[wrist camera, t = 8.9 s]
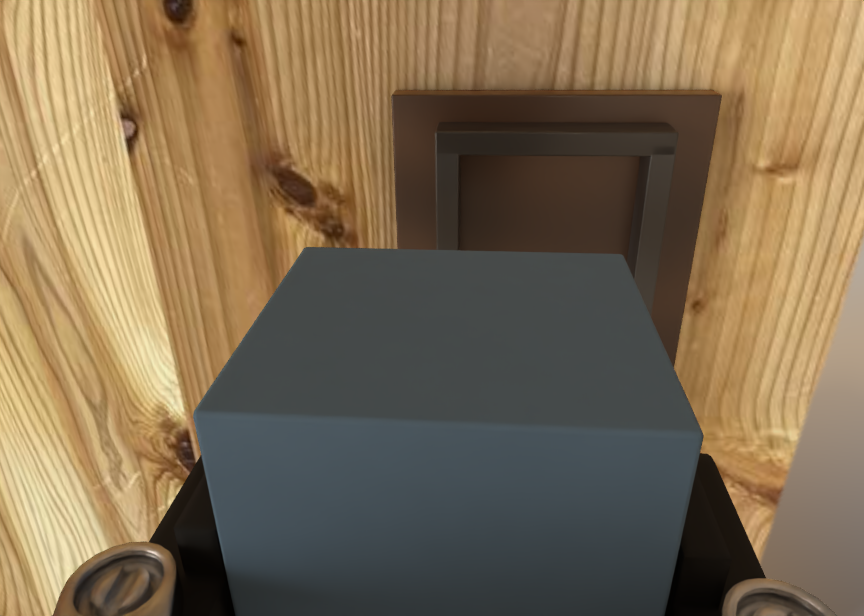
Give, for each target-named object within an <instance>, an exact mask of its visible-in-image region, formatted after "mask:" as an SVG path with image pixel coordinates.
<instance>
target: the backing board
mask: <svg viewBox="0 0 864 616" xmlns="http://www.w3.org/2000/svg"><path fill="white" fill-rule="evenodd" d="M391 98H392V122H393V147H394V171H395V196H396V221H397V245H398V249H415V250H460V251H506V252H551V253H596V254H621V255H623V256H624V258H625V260H626V263H627V265H628V267H629V269H630V272H631V274H632V276H633V278H634V281H635V283H636V285H637V287H638V290H639V292H640V294H641V296H642V298H643V301H644V303H645V305H646V307H647V310H648V312H649V314H650V316H651V319H652V321H653V323H654V325H655V328H656V330H657V332H658V334H659V336H660V339H661V341H662V343H663V345H664V348H665V350H666V352H667V354H668V357H669V359H670V361H671V363H672V366H673V368H674V363H675V358H676V352H677V346H678V341H679V335H680V329H681V324H682V318H683V312H684V307H685V301H686V296H687V290H688V284H689V279H690V273H691V267H692V262H693V256H694V250H695V245H696V239H697V233H698V228H699V222H700V216H701V211H702V205H703V200H704V194H705V188H706V183H707V177H708V171H709V166H710V160H711V154H712V149H713V143H714V137H715V132H716V126H717V121H718V115H719V109H720V104H721V98H722V95H721V94H719V93H717V92H715V91H714V90H396V91H395V92H394V93H393V94H392V96H391Z"/></svg>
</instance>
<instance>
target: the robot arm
mask: <svg viewBox="0 0 864 616" xmlns="http://www.w3.org/2000/svg"><path fill="white" fill-rule="evenodd" d="M53 616H235V612H234V607H233V603H232V598H231V593H230V588H229V584H228V579H227V574H226V569H225V565H224V560H223V555H222V550H221V546H220V541H219V536H218V531H217V527H216V522H215V517H214V513H213V508H212V503H211V498H210V494H209V489H208V484H207V479H206V475H205V470H204V465H203V460H202V456H200V458H199V459H198V461H197V463H196V464H195V466H194V468H193V469H192V471H191V473H190V474H189V476H188V478H187V479H186V481H185V483H184V484H183V486H182V488H181V489H180V491H179V493H178V494H177V496H176V498H175V499H174V501H173V503H172V504H171V506H170V508H169V509H168V511H167V513H166V514H165V516H164V518H163V519H162V521H161V523H160V524H159V526H158V528H157V529H156V531H155V533H154V534H153V536H152V538H151V539H150V541H149V542H129V543H126V544H122V545H118V546H114V547H111V548H109V549H107V550H105V551H103V552H101V553H98V554H96V555H95V556H93V557H92V558H90V559H89V560H88V561H86V562H85V563H83V564H82V565H81V566H80V567H79V568H78V569H77V570H76V571H75V572H74V573H73V574H72V575H71V576H70V577H69V579H68V580H67V582H66V584H65V586H64V588H63V590H62V592H61V594H60V597H59V600H58V602H57V605H56V608H55V611H54V614H53ZM665 616H837V615H836V614H835V613H834V612H833V611H832V610H831V609H830V608H829V607H828V606H827V605H825V604H824V603H823V602H822V601H821V600H819V599H818V598H817V597H815V596H813V595H812V594H810V593H808V592H806V591H805V590H803V589H801V588H799V587H797V586H794V585H791V584H789V583H786V582H783V581H779V580H773V579H766V577H765V575H764V573H763V570H762V568H761V566H760V563H759V561H758V559H757V557H756V554H755V552H754V550H753V548H752V545H751V543H750V541H749V539H748V536H747V534H746V532H745V530H744V527H743V525H742V523H741V521H740V518H739V516H738V514H737V512H736V509H735V507H734V505H733V503H732V500H731V498H730V496H729V494H728V491H727V489H726V487H725V485H724V482H723V480H722V478H721V475H720V473H719V471H718V469H717V466H716V464H715V462H714V461H713V459H712V457H711V456H710V455H708V454H701V453H700V455H699V459H698V464H697V468H696V473H695V478H694V482H693V487H692V491H691V496H690V501H689V505H688V510H687V514H686V519H685V524H684V528H683V533H682V537H681V542H680V547H679V551H678V556H677V560H676V565H675V570H674V574H673V579H672V583H671V588H670V593H669V597H668V602H667V606H666V611H665Z"/></svg>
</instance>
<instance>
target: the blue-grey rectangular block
mask: <svg viewBox="0 0 864 616" xmlns="http://www.w3.org/2000/svg"><path fill="white" fill-rule="evenodd" d="M193 418H194V422H195V427H196V432H197V437H198V441H199V446H200V451H201V456H202V460H203V465H204V470H205V475H206V479H207V484H208V489H209V494H210V498H211V503H212V508H213V513H214V517H215V522H216V527H217V531H218V536H219V541H220V546H221V550H222V555H223V560H224V565H225V569H226V574H227V579H228V584H229V588H230V593H231V598H232V603H233V607H234V612H235V616H665V611H666V606H667V602H668V597H669V593H670V588H671V583H672V579H673V574H674V570H675V565H676V560H677V556H678V551H679V547H680V542H681V537H682V533H683V528H684V524H685V519H686V514H687V510H688V505H689V501H690V496H691V491H692V487H693V482H694V478H695V473H696V468H697V464H698V459H699V455H700V450H701V445H702V441H703V433H702V430H701V428H700V426H699V424H698V421H697V419H696V417H695V415H694V412H693V410H692V408H691V406H690V403H689V401H688V399H687V397H686V395H685V392H684V390H683V388H682V386H681V383H680V381H679V379H678V377H677V374H676V372H675V370H674V368H673V366H672V363H671V361H670V359H669V357H668V354H667V352H666V350H665V348H664V345H663V343H662V341H661V339H660V336H659V334H658V332H657V330H656V328H655V325H654V323H653V321H652V319H651V316H650V314H649V312H648V310H647V307H646V305H645V303H644V301H643V298H642V296H641V294H640V292H639V290H638V287H637V285H636V283H635V281H634V278H633V276H632V274H631V272H630V269H629V267H628V265H627V263H626V260H625V258H624V256H623V255H621V254H596V253H551V252H506V251H460V250H415V249H370V248H324V247H306V248H304V249H303V251H302V252H301V254H300V255H299V257H298V258H297V260H296V261H295V263H294V264H293V266H292V267H291V269H290V270H289V272H288V273H287V275H286V276H285V278H284V279H283V280H282V282H281V283H280V285H279V286H278V288H277V289H276V291H275V292H274V294H273V295H272V297H271V298H270V300H269V301H268V303H267V304H266V306H265V307H264V309H263V310H262V312H261V313H260V314H259V316H258V317H257V319H256V320H255V322H254V323H253V325H252V326H251V328H250V329H249V331H248V332H247V334H246V335H245V337H244V338H243V340H242V341H241V343H240V344H239V346H238V347H237V348H236V350H235V351H234V353H233V354H232V356H231V357H230V359H229V360H228V362H227V363H226V365H225V366H224V368H223V369H222V371H221V372H220V374H219V375H218V377H217V378H216V380H215V381H214V382H213V384H212V385H211V387H210V388H209V390H208V391H207V393H206V394H205V396H204V397H203V399H202V400H201V402H200V403H199V405H198V406H197V408H196V409H195V411H194V414H193Z"/></svg>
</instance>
